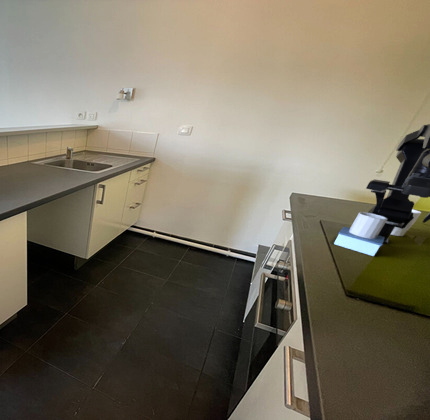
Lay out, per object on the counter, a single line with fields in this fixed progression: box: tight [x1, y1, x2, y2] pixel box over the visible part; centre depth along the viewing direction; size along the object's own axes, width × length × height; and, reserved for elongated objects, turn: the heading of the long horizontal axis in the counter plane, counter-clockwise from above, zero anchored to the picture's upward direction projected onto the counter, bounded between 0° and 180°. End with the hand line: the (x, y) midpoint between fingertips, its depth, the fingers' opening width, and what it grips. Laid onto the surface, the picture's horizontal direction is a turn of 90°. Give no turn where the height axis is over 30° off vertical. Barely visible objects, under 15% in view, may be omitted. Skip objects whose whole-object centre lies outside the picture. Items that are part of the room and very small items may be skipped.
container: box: [333, 226, 385, 257], centre depth 83 cm, size 9×9×5 cm
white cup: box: [390, 208, 422, 237], centre depth 95 cm, size 8×8×10 cm
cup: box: [349, 211, 388, 239], centre depth 81 cm, size 6×6×7 cm
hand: (399, 217), depth 78 cm, fingers open, 9 cm apart
